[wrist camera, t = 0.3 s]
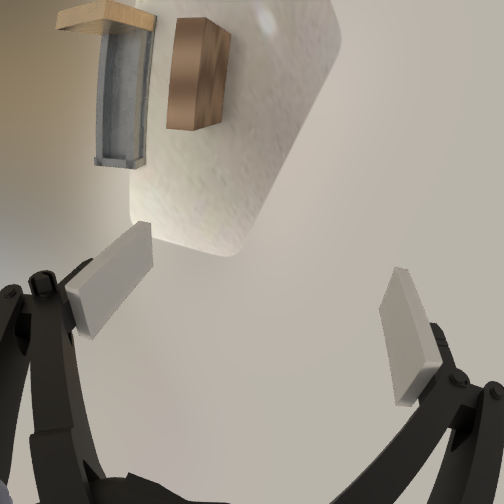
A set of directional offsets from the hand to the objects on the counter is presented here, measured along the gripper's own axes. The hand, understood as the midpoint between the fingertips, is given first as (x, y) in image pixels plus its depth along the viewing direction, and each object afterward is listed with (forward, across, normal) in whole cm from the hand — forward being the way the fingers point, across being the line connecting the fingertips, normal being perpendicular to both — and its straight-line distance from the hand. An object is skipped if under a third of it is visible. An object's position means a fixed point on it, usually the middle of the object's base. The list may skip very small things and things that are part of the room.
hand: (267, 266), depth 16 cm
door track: (+26, -25, +8) cm, 37 cm away
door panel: (+26, -12, +10) cm, 30 cm away
